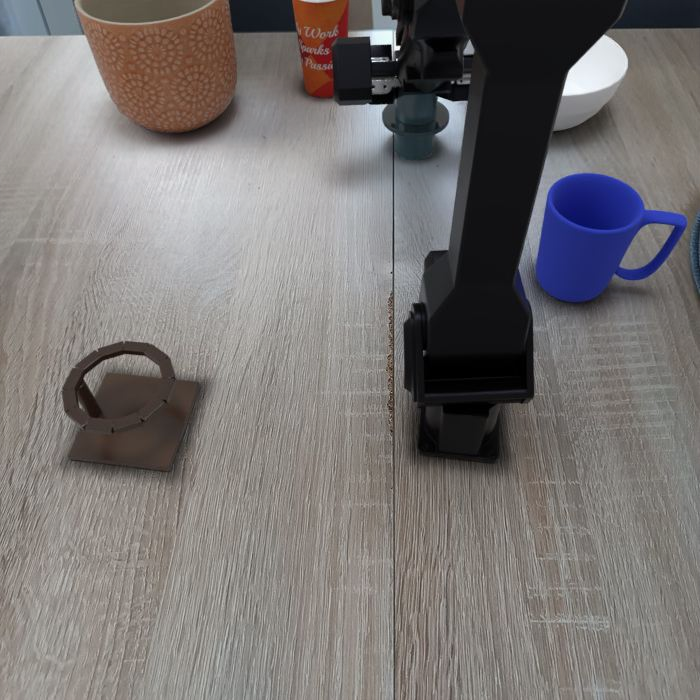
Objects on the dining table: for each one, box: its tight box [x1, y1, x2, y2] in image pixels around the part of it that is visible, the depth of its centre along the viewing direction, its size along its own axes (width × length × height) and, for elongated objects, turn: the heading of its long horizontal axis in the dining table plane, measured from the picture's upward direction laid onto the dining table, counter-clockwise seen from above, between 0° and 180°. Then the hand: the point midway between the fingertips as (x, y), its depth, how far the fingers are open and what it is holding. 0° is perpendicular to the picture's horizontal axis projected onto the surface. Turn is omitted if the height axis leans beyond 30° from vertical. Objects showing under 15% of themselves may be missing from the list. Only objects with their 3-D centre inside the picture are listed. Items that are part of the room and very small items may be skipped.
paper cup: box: [291, 0, 350, 99], centre depth 84 cm, size 8×8×14 cm
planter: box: [73, 0, 238, 134], centre depth 80 cm, size 17×17×15 cm
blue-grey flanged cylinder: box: [381, 76, 450, 161], centre depth 75 cm, size 8×8×10 cm
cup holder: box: [61, 340, 201, 472], centre depth 54 cm, size 9×9×6 cm
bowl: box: [553, 34, 629, 132], centre depth 81 cm, size 18×18×7 cm
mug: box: [535, 172, 688, 303], centre depth 61 cm, size 8×12×10 cm
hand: (415, 91), depth 75 cm, fingers closed on blue-grey flanged cylinder, 5 cm apart
